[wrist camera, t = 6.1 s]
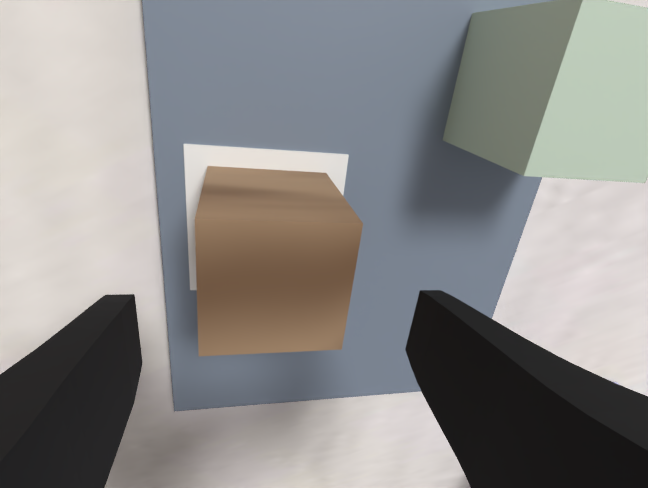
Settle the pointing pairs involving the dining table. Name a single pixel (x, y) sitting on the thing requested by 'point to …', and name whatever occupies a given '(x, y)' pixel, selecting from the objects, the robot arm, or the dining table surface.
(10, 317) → the dining table surface
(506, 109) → the sage block
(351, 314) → the grey mat
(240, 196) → the walnut block
